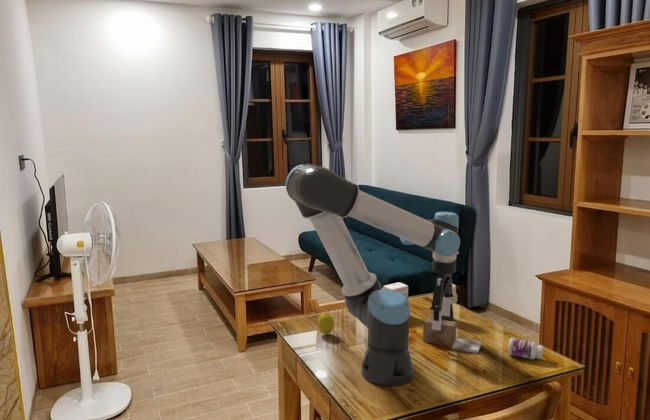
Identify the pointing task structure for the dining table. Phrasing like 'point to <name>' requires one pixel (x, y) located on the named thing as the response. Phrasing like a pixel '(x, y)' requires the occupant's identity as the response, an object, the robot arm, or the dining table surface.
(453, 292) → the character mug
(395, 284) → the ink box
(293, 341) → the dining table surface
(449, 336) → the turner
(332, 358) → the dining table surface
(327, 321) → the lemon
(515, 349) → the pill bottle
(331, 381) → the dining table surface
